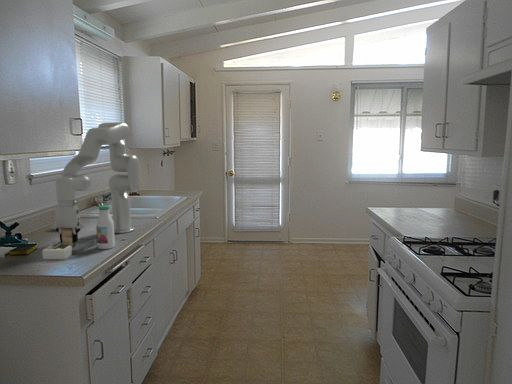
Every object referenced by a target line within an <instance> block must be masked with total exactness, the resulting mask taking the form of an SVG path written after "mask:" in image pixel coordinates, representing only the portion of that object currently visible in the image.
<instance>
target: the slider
mask: <svg viewBox="0 0 512 384" xmlns="http://www.w3.org/2000/svg"><path fill="white" fill-rule="evenodd" d="M61 232H62V245H63V246H73V245H74V244H76V242H75V243H73V237H72V235H73V231H72V228H62V229H61Z"/></svg>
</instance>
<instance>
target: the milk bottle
mask: <svg viewBox="0 0 512 384" xmlns="http://www.w3.org/2000/svg"><path fill="white" fill-rule="evenodd" d="M98 212H99V214H98V217H97V220H96V224H95V225H96V226H95V228H96V240H97V243H96V245H97V248H98V249H99V250H108V249H113V248H115V246H116V240H115V239H116V238H115V233H114V224H113V217H112V216H111V213H110V206H109V205H108V204H107V205H106V204H105V205H104V204H103V205H100V206H98Z"/></svg>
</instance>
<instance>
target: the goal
mask: <svg viewBox="0 0 512 384" xmlns="http://www.w3.org/2000/svg"><path fill="white" fill-rule="evenodd" d="M72 255H73V254H72V246H68V247H66V248H64V249H53V245H50V246H48V247H45V248H44V249H42V259H43V260H66V259H67V258H69V257H70V256H72Z"/></svg>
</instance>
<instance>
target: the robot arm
mask: <svg viewBox="0 0 512 384" xmlns="http://www.w3.org/2000/svg"><path fill="white" fill-rule="evenodd" d="M130 132H131V131H130V127H129V125H128V124H127V123H125V122H102V123H99V124H98V126H97V127H92V128H90V129H88V130H87V132H86V134H85V137H84V140H83V142H82V145H81V147H80V149H79V152H78V154H76V155H74V157H72V158H71V159H70V161H68V163H67V164H66V165H65V166H64V168H63V170H62V173H61V175H60V176H59V177H56V179H55V191H56V192H55V193H56V194H55V195H56V204H57V206H55V207H56V208H55V212H54V214H55V215H54V223H53V224H52V225H51V229H53V230H54V231H56V232H57V234H58V235H59V242H60V241H61V243H62V232H61V229H62V228H72V231H73V235H72V237H73V243H75V242H77V241H79V232H81V230H82V229H83V228H85V225H84V224H83V223H82V220H81V212H80V209H79V207H78V204H79V201H78V200H76V194H75V192H84V191H87V190H88V189H89V188H90V187H91V185H92V183H91V182H92V180H91V179H90V177H89V176H86V175H84V174H83V175H82V174H77V173H78V172H79V171H80V170H81V169H83V168H84V167H86V166H88V165H90V164H93V163H94V162H96V161H97V159H98V156H99V153H100V151H101V149H102V147H103V146H108V149H109V161H110V162H109V163H110V168H111V170H112V171H113V172H117V174H113V175H112V176H110V178H109V179H108V187H109V190H110V196H111V209H112V210H111V211H112V220H113V224H114V234H123V233H126V234H127V233H130V232H132V231H134V230H135V227H134V226H133V225H132V220H131V219H132V217H131V216H132V215H131V199H130V198H131V197H130V195H129V194H128V193H136V192H139V191H140V189H141V187H142V186H141V185H142V175H141V163H140V160H139V157H138V156H136V155H134V154H127V146H126V143H125V141H124V140H125V139H127V138H128V137H129V136H130ZM118 173H127V174H118Z"/></svg>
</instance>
